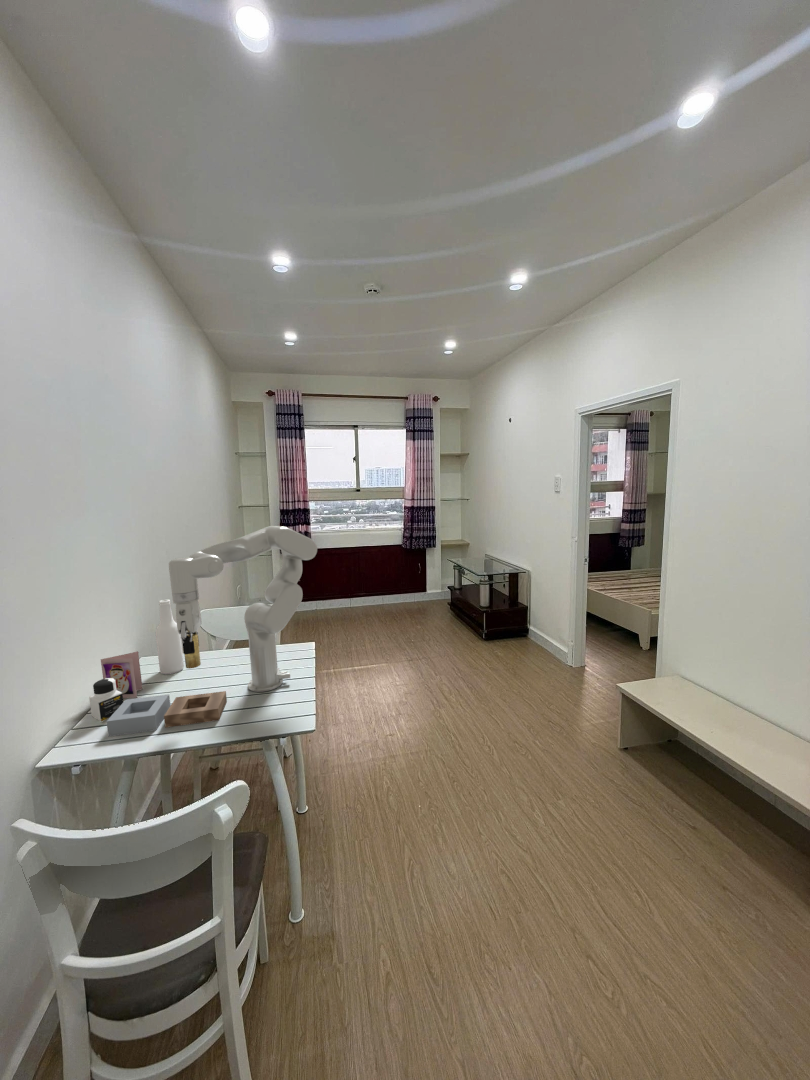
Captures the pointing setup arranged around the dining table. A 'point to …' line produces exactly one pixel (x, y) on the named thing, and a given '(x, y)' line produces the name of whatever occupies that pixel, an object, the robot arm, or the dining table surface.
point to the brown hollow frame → (195, 709)
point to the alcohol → (168, 641)
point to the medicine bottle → (105, 699)
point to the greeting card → (124, 673)
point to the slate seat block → (138, 715)
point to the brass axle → (194, 658)
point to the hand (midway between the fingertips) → (191, 649)
